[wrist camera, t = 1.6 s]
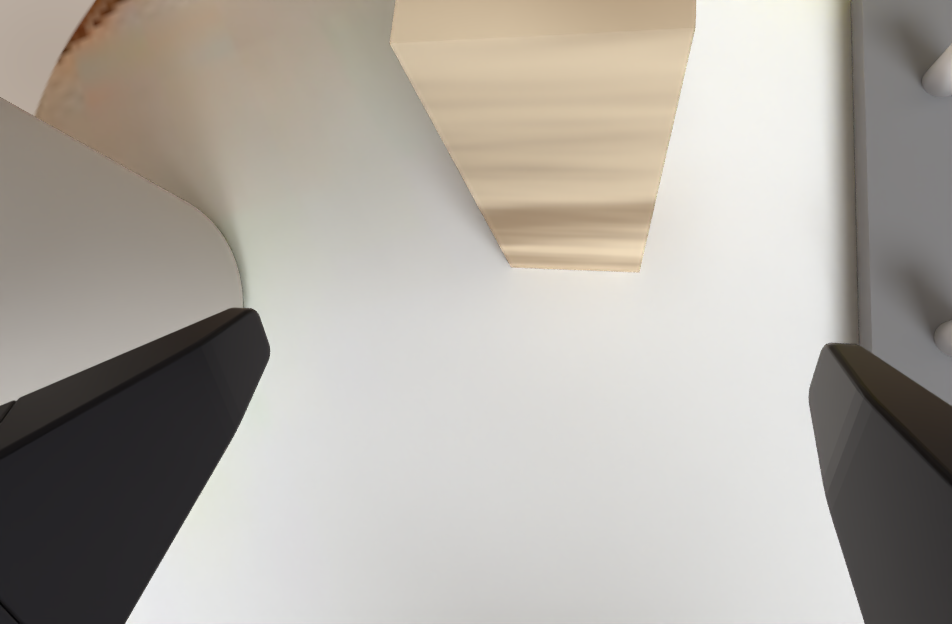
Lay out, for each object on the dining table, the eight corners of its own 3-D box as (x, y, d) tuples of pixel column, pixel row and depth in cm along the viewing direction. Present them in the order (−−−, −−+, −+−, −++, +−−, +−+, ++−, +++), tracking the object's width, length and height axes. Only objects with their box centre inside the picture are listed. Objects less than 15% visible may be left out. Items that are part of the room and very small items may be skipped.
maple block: (639, 272, 22) (695, 27, 9) (511, 267, 23) (389, 43, 10) (644, 152, 23) (703, -234, 10) (521, 152, 24) (423, -193, 11)
